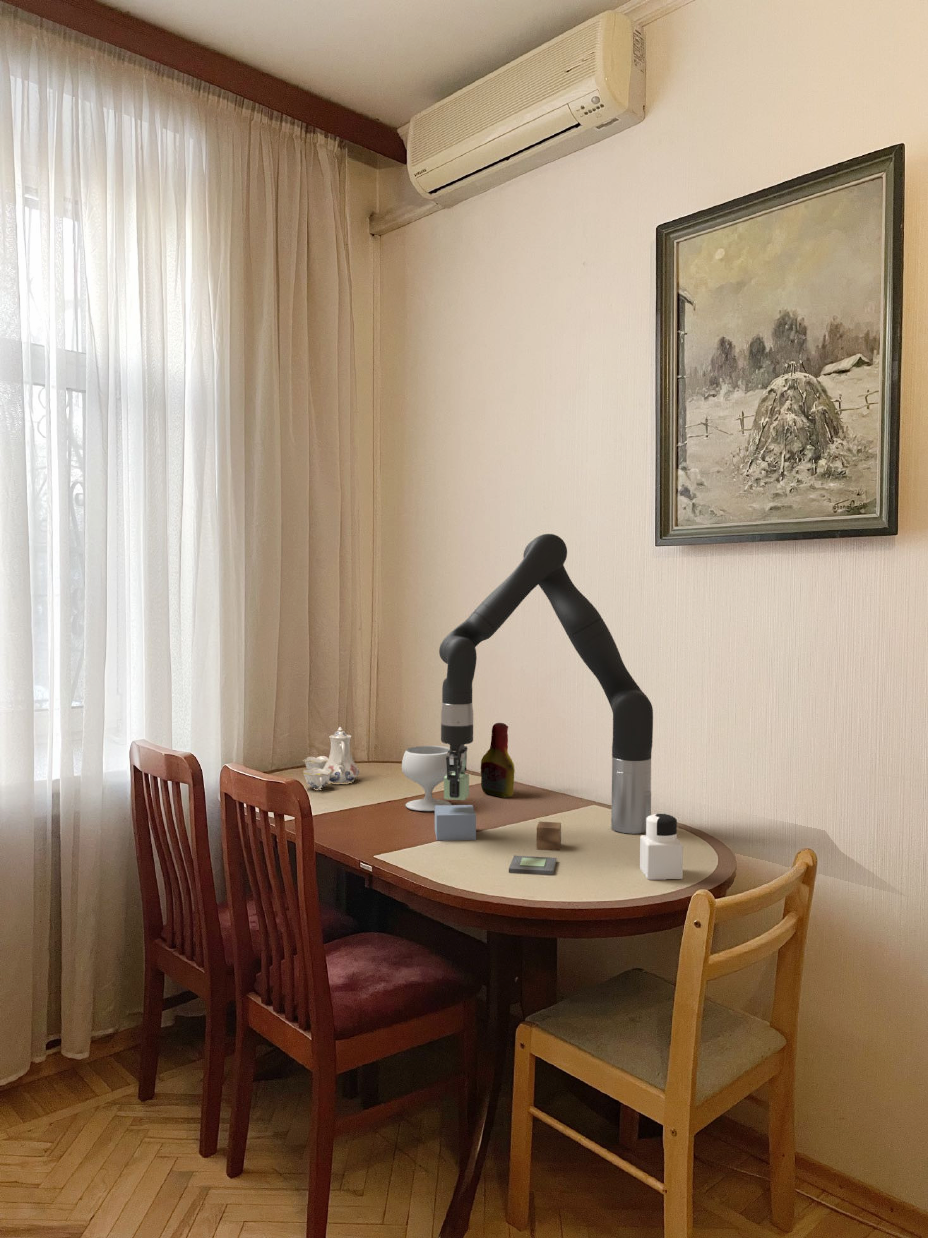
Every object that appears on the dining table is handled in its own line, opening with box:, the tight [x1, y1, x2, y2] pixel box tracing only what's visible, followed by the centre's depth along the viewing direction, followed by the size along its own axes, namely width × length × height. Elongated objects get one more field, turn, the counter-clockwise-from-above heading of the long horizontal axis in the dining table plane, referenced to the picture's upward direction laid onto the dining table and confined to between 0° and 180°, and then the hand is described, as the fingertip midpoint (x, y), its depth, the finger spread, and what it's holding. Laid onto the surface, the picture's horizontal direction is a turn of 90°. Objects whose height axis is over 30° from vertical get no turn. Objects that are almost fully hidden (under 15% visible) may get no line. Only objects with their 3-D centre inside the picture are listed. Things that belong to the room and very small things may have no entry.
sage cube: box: [443, 773, 470, 801], centre depth 217 cm, size 5×5×5 cm
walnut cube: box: [536, 821, 562, 852], centre depth 208 cm, size 5×5×5 cm
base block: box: [434, 804, 477, 842], centre depth 217 cm, size 9×9×6 cm
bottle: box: [480, 722, 516, 799], centre depth 256 cm, size 12×6×20 cm, turn 36°
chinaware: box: [302, 726, 360, 791], centre depth 271 cm, size 28×17×17 cm, turn 14°
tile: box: [508, 854, 557, 876], centre depth 193 cm, size 9×9×1 cm
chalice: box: [401, 745, 454, 812], centre depth 243 cm, size 14×14×15 cm
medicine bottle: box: [639, 813, 684, 881], centre depth 189 cm, size 7×7×12 cm
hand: (456, 794), depth 217 cm, fingers closed on sage cube, 5 cm apart
